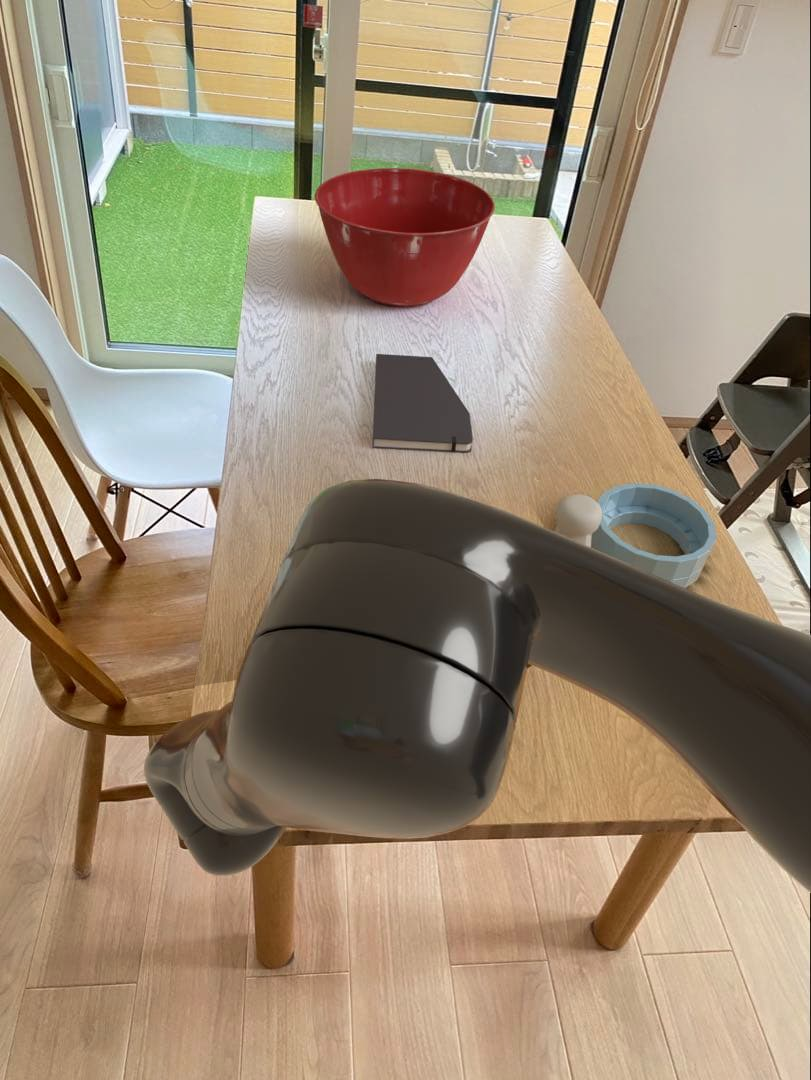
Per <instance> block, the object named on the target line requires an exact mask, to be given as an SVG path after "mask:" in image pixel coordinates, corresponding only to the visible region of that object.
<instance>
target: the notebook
mask: <svg viewBox="0 0 811 1080" xmlns="http://www.w3.org/2000/svg"><path fill="white" fill-rule="evenodd" d="M373 399H374V401H373V421H372V422H373V423H372V447H371V448H372V449H385V450H386V449H387V450H405V451H423V452H443V453H462V454H466V453H467V454H468V453H470V452H472V443H473V440H474V439H473V430H472V421H471V414H470V411H469V410H468V409H467V407H466V406H465V404H464V403H463V401H462V400H461V398H460V397H459V395H458V394H457V392H456V390H455V389H454V388H453V386H452V385H451V383H450V382H449V380H448V379H447V377H446V376H445V374H444V373H443V371H442V370H441V368H440V367H439V365H438V364H437V362H436V361H435V360H434V358H433V357H432V356H422V355H421V356H420V355H419V356H418V355H406V354H405V355H404V354H402V355H401V354H387V353H376V354H375V375H374V397H373Z"/></svg>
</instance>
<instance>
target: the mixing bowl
mask: <svg viewBox="0 0 811 1080" xmlns="http://www.w3.org/2000/svg"><path fill="white" fill-rule="evenodd" d="M314 200H315V203H316V204H317V206H318V210H319V214H320V218H321V221H322V225H323V228H324V232H325V235H326V238H327V241H328V245H329V247H330V248H331V249H330V250H331V252H332V254H333V256H334V258H335V260H336V263H337V265H338V267H339V269H340V271H341V272H342V274H343V276H344V277H345V279H346V280H347V281H348V283H349V284H350V285H351V286H352V287H353V289H355V290H356V291H358V292H359V293H360V294H362V295H363V296H365V297H367V298H368V297H369V298H368V299H370V298H371V299H373V300H375V301H377V302H376V303H378V302H379V303H378V304H381V303H382V304H381V305H385V306H389V307H397V308H398V307H399V308H412V307H420V306H424V305H426V304H429V303H432V302H433V301H435V300H438V299H440V298H441V297H443V296H445V295H446V294H447V293H449V292H450V291H451V290H452V289H453V288H454V287H455V286H456V285H457V283H458V282H459V281H460V279H461V278H462V276H463V275H464V273H465V272H466V271H467V269H468V267H469V265H470V264H471V262H472V261H473V258H474V257H475V254H476V252H477V251H478V249H479V246H480V245H481V242H482V240H483V238H484V235H485V232H486V230H487V228H488V224H489V223H490V220H491V218H492V216H493V215H494V214H495V213H494V212H495V209H496V205H495V204H496V203H495V201H494V199H493V197H492V196H491V195H490V194H489V193H488V192H487V191H486V190H484V189H483V188H482V187H481V186H478V185H477V184H475V183H473V182H470V181H469V180H466V179H463V178H460V177H457V176H455V175H450V174H446V173H442V172H435V171H430V170H426V169H425V170H424V169H416V168H402V167H384V168H383V167H380V168H369V169H368V168H367V169H359V170H354V171H349V172H345V173H342V174H338V175H335V176H333V177H331V178H329V179H327V180H325V181H323V182H322V183H320V185H319V186H318V187H317V189H316V191H315V193H314ZM371 299H370V300H371ZM373 300H372V301H373ZM375 301H374V302H375Z"/></svg>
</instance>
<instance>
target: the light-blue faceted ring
mask: <svg viewBox="0 0 811 1080" xmlns="http://www.w3.org/2000/svg"><path fill="white" fill-rule="evenodd" d="M596 502H597V503H598V504H599V505H600V507H601V509H602V511H603V512H602V519H601V523H600V525H599V528H598V529H597V530H596V531H595V532H593V533H592V536H591V548H593V549H595V550H598V551H600V552H602V553H605V554H607V555H609V556H612V557H614V558H616V559H618V560H621V561H623V562H625V563H628V564H630V565H632V566H634V567H637V568H639V569H641V570H644V571H646V572H648V573H650V574H653V575H655V576H657V577H660V578H662V579H664V580H667V581H669V582H671V583H673V584H676V585H678V586H680V587H683V588H685V589H687V588H688V587H689V586H690V585H692V584H693V583H695V582H696V581H697V580H698V579H699V577H700V575H701V573H702V571H703V569H704V567H705V565H706V562H707V560H708V559H709V556H710V554H711V551H712V549H713V547H714V545H715V542H716V541H717V532H716V525H715V523H714V521H713V520H712V518H711V516H710V515H709V513H708V512H707V511H706V509H704V508H703V507H702V506H701V505H699V504H698V503H697V502H696V501H695V500H694V499H692V498H690V497H688V496H686V495H685V494H683V493H682V492H681V493H680V492H679V491H677V490H675V489H672V488H668V487H665V486H661V485H659V484H656V483H655V484H654V483H642V482H630V483H624V484H623V483H622V484H617V485H615V486H613V487H610V488H609V489H607V490H605V491H604V492H602V494H601V495H600V497H599V498H598V499H597V501H596ZM629 524H631V525H633V524H634V525H644V526H647V527H651V528H654V529H656V530H659V531H661V532H663V533H665V534H667V535H668V536H669V537H670V538H672V539H673V540H674V541H675V542H676V543H677V544H678V545H679V547H680V549H681V550H682V552H683V555H682V554H681V555H677V556H676V555H674V556H673V555H662V554H661V555H660V554H655V553H651V552H648V551H645V550H641V549H638V548H636V547H634V546H633V545H631V544H630V543H627V542H626V541H624V540H622V539H621V538H620V537H619V536H618V535H617V534H616V533H615V532H614V531H613V530H612V529H614V528H617V527H618V526H623V525H629Z"/></svg>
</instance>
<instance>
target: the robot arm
mask: <svg viewBox="0 0 811 1080" xmlns="http://www.w3.org/2000/svg"><path fill="white" fill-rule="evenodd" d="M252 635H253V636H252V637H251V640H250V643H249V645H248V646H247V649H246V651H245V653H244V657H243V660H242V662H241V665H240V668H239V671H238V674H237V677H236V679H235V685H234V690H233V696H232V700H231V701H229V702H227V703H225V705H223V706H222V707H221V708H220V709H214V710H208V711H203V712H201V713H197V714H194V715H191V716H189V717H188V718H185V719H183V720H181V721H180V722H178V723H176V724H174V725H173V726H172V727H169V729H168V730H166V731H165V732H163V734H161V736H159V737H158V739H157V740H155V742H154V743H153V745H152V746H151V748H150V749H149V751H148V752H147V754H146V757H145V759H144V764H143V773H144V778H145V779H144V780H145V781H146V784H147V787H148V788H149V791H150V792H151V794H152V796H153V798H155V800H156V801H157V803H158V805H159V807H161V809H162V811H163V812H164V814H165V816H166V817H167V819H168V820H169V822H170V824H171V825H172V826H173V828H174V830H175V832H176V833H177V834H178V836H179V838H180V839H181V840H183V844H184V845H185V847H186V848H187V850H188V852H189V853H190V855H191V857H192V858H193V859H194V861H195V862H196V864H197V865H198V866H199V867H200V868H201V869H202V870H203V871H204V872H205V873H207V874H209V875H212V876H213V875H214V876H219V877H220V876H221V877H222V876H223V877H224V876H227V877H228V876H232V875H236V874H239V873H241V872H245V871H247V870H249V869H251V868H252V867H254V866H255V865H256V864H258V863H259V862H260V861H261V860H262V859H264V857H265V856H267V855H268V853H269V852H270V851H271V850H272V849H273V848H274V846H275V845H276V844H277V843H278V841H279V840H280V839H281V837H282V836H283V834H284V833H285V832H286V830H287V829H295V830H301V831H310V832H317V833H326V834H340V835H349V836H357V837H368V838H378V839H410V840H411V839H424V838H431V837H436V836H441V835H445V834H449V833H451V832H455V831H457V830H461V829H463V828H465V827H467V826H468V825H470V824H471V823H473V822H475V821H477V820H478V819H480V817H481V816H483V815H484V814H485V813H486V812H487V810H488V809H489V808H490V807H491V805H492V803H493V802H494V801H495V798H496V796H497V794H498V792H499V789H500V787H501V784H502V781H503V778H504V777H505V776H504V775H505V772H506V769H507V767H508V762H509V760H510V754H511V750H512V745H513V739H514V733H515V730H516V724H517V721H518V717H519V712H520V706H521V702H522V696H523V691H524V685H525V681H526V677H527V670H528V669H529V668H530V667H535V668H537V669H541V670H543V671H545V672H547V673H549V674H552V675H554V676H556V677H558V678H561V679H562V680H565V681H566V682H568V683H570V684H572V685H574V686H577V687H579V688H580V689H583V690H585V691H587V692H589V693H591V694H593V695H594V696H596V697H598V698H599V699H602V700H604V701H606V702H607V703H609V704H611V705H612V706H614V707H615V708H617V709H619V710H620V711H621V712H623V713H624V714H626V715H627V716H629V718H630V719H631V718H632V719H633V720H634V721H635V722H637V723H638V724H639V725H641V726H642V727H643V728H644V729H645V730H647V731H648V732H649V733H650V734H651V735H652V736H654V738H656V739H657V740H659V742H661V743H662V744H663V745H664V746H665V747H666V748H667V749H668V750H669V751H670V752H671V753H672V754H673V755H674V756H675V757H676V758H677V759H678V760H679V761H680V762H681V763H682V764H683V765H684V766H685V767H686V768H687V769H688V770H689V771H690V773H692V775H693V776H694V777H695V778H696V779H697V780H698V781H699V782H700V783H701V784H702V785H703V787H705V789H706V790H707V791H708V792H709V793H710V794H711V795H712V796H713V797H714V798H715V800H716V801H717V802H718V803H719V804H720V805H721V806H722V807H723V808H724V809H725V810H726V811H727V812H728V814H730V815H731V817H733V819H734V820H735V821H736V822H737V823H738V824H739V825H740V826H741V827H742V829H744V830H745V832H746V833H747V834H748V835H749V836H750V837H751V839H752V840H754V841H755V843H757V844H758V846H759V847H760V848H761V849H763V850H764V851H765V852H766V854H768V856H770V857H771V858H772V860H773V861H774V862H776V863H777V865H778V866H779V867H780V868H782V870H783V871H785V873H787V875H789V876H790V877H791V878H792V879H793V880H794V881H795V882H797V884H799V885H800V886H801V887H802V888H804V889H805V890H806V891H807V892H809V893H810V894H811V634H809V633H806V632H804V631H800V630H797V629H794V628H791V627H788V626H786V625H783V624H780V623H777V622H774V621H771V620H768V619H765V618H763V617H761V616H758V615H754V614H752V613H750V612H747V611H744V610H741V609H738V608H736V607H733V606H730V605H728V604H725V603H723V602H720V601H717V600H716V599H715V600H714V599H712V598H709V597H707V596H704V595H702V594H700V593H697V592H695V591H692V590H690V589H687V588H683V587H680V586H678V585H676V584H673V583H671V582H669V581H667V580H664V579H662V578H660V577H657V576H655V575H653V574H650V573H648V572H646V571H644V570H641V569H639V568H637V567H634V566H632V565H630V564H628V563H625V562H623V561H621V560H618V559H616V558H614V557H612V556H609V555H607V554H605V553H602V552H600V551H598V550H595V549H593V548H591V547H589V546H586V545H584V544H582V543H579V542H577V541H575V540H573V539H570V538H568V537H566V536H563V535H561V534H559V533H556V532H554V530H552V529H550V528H547V527H545V526H543V525H540V524H537V523H535V522H533V521H531V520H528V519H525V518H523V517H521V516H519V515H516V514H513V513H512V512H509V511H506V510H503V509H502V508H498V507H496V506H493V505H491V504H488V503H485V502H483V501H479V500H476V499H473V498H470V497H467V496H464V495H461V494H459V493H454V492H451V491H448V490H445V489H441V488H437V487H434V486H429V485H425V484H422V483H416V482H409V481H402V480H393V479H384V478H383V479H382V478H367V479H355V480H347V481H343V482H340V483H338V484H335V485H332V486H329V487H327V488H325V489H323V490H322V491H321V492H319V493H318V494H317V495H316V496H315V497H313V498H312V499H311V501H310V502H309V503H307V505H306V508H305V509H304V511H303V512H302V515H301V516H300V519H299V521H298V522H297V525H296V527H295V529H294V531H293V534H292V537H291V539H290V541H289V544H288V546H287V549H286V552H285V553H284V556H283V558H282V561H281V563H280V567H279V570H278V572H277V574H276V577H275V580H274V582H273V586H272V588H271V590H270V592H269V595H268V598H267V600H266V603H265V605H264V608H263V610H262V612H261V615H260V618H259V620H258V622H257V625H256V628H255V630H254V633H253V634H252Z"/></svg>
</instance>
